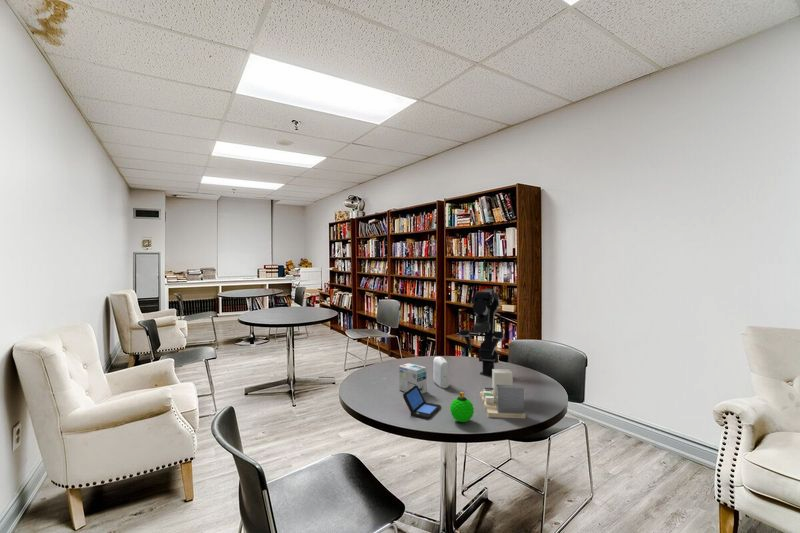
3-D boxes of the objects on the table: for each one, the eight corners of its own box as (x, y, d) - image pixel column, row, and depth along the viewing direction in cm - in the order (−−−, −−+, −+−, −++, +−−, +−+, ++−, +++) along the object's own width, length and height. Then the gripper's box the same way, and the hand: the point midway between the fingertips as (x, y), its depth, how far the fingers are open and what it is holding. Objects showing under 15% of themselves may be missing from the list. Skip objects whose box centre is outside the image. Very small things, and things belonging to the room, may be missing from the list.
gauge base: (480, 394, 149) (479, 385, 149) (511, 395, 148) (511, 386, 148) (488, 417, 128) (488, 406, 127) (525, 418, 126) (525, 407, 126)
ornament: (445, 422, 124) (445, 393, 124) (457, 414, 130) (457, 386, 130) (466, 428, 119) (466, 398, 119) (478, 420, 125) (478, 392, 125)
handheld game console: (429, 420, 126) (429, 399, 125) (402, 415, 131) (401, 394, 130) (442, 407, 137) (442, 388, 137) (416, 402, 142) (416, 384, 142)
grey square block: (496, 409, 131) (496, 384, 131) (521, 410, 130) (521, 385, 130) (498, 412, 128) (497, 387, 128) (523, 413, 127) (523, 388, 127)
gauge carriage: (484, 393, 146) (483, 368, 146) (509, 393, 145) (509, 369, 145) (486, 400, 138) (486, 374, 138) (514, 401, 137) (514, 375, 137)
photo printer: (450, 387, 158) (449, 359, 158) (441, 388, 156) (440, 360, 156) (440, 380, 167) (440, 354, 167) (432, 381, 166) (432, 355, 166)
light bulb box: (427, 392, 153) (427, 366, 153) (417, 396, 148) (417, 370, 148) (408, 386, 160) (408, 362, 160) (398, 390, 155) (398, 365, 155)
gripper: (458, 314, 157) (455, 350, 152) (502, 316, 150) (500, 354, 145) (463, 318, 166) (460, 353, 162) (504, 321, 159) (503, 356, 155)
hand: (480, 354), depth 156 cm, fingers open, 9 cm apart
